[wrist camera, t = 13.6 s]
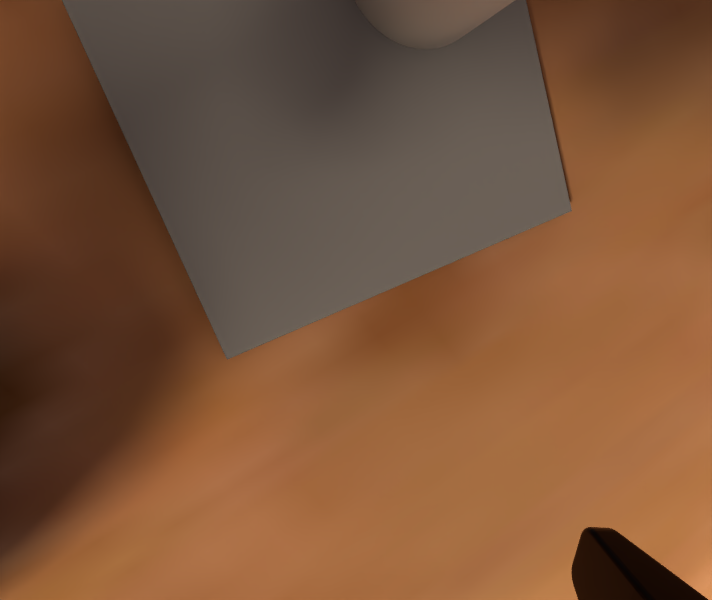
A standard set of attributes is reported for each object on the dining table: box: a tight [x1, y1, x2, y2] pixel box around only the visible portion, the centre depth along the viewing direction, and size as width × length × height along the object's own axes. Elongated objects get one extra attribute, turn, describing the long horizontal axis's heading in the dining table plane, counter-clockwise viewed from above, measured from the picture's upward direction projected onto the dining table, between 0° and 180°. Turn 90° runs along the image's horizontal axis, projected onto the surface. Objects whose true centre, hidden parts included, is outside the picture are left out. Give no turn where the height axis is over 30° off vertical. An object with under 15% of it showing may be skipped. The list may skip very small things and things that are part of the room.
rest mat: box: [62, 0, 572, 359], centre depth 17 cm, size 16×20×1 cm
